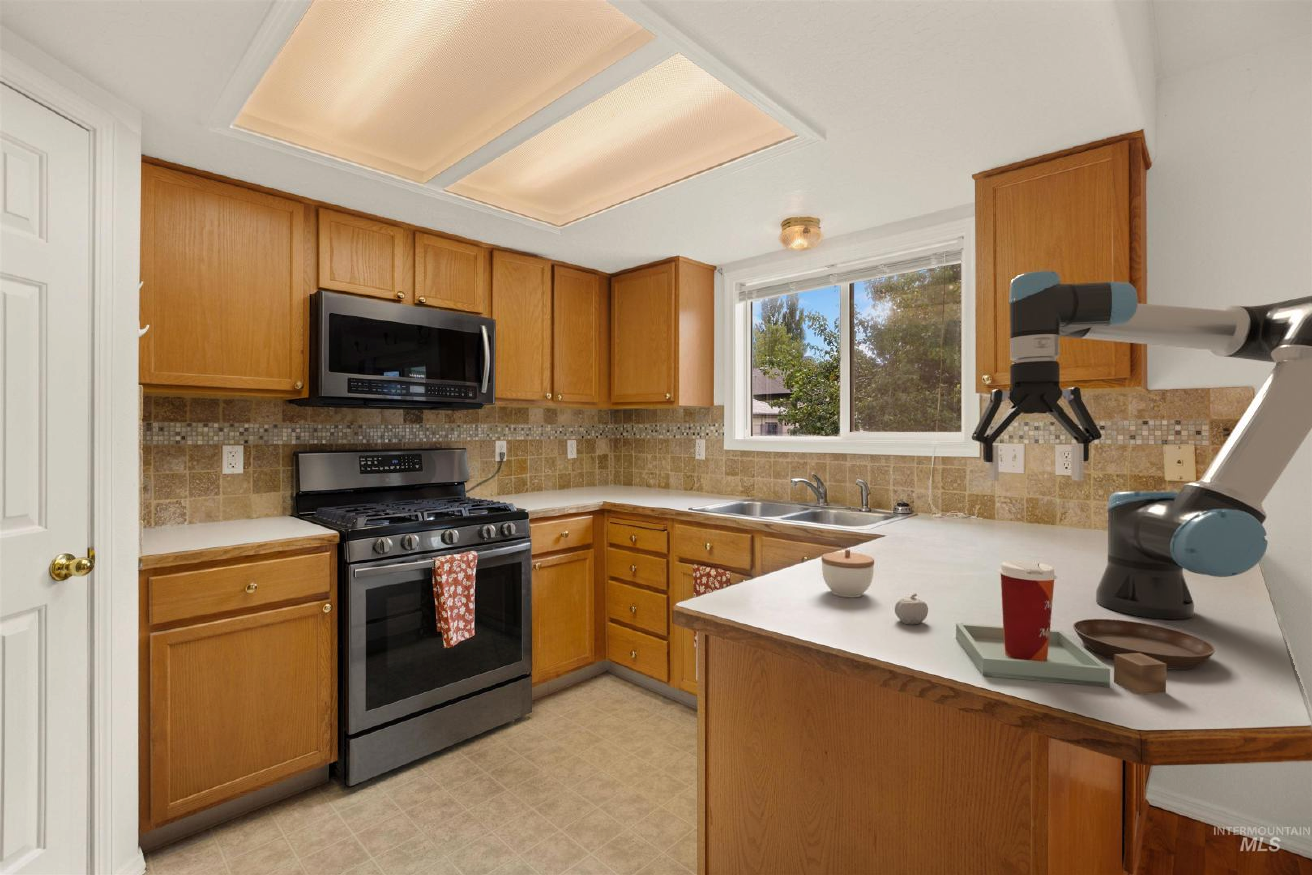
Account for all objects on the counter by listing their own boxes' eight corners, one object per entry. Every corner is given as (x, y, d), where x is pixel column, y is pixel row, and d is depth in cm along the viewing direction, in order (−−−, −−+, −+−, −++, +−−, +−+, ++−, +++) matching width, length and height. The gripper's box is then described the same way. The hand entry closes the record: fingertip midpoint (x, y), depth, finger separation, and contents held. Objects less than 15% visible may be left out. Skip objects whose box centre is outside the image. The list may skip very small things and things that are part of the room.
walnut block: (1138, 680, 88) (1139, 652, 88) (1165, 693, 84) (1166, 663, 84) (1113, 682, 87) (1114, 654, 87) (1139, 694, 83) (1140, 665, 83)
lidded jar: (879, 591, 133) (879, 548, 133) (866, 603, 124) (867, 557, 124) (829, 584, 139) (830, 542, 139) (814, 595, 130) (814, 551, 130)
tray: (1062, 645, 101) (1062, 630, 101) (1109, 686, 85) (1110, 668, 85) (955, 637, 105) (956, 623, 104) (982, 675, 89) (983, 658, 89)
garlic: (914, 616, 116) (914, 589, 116) (935, 625, 111) (935, 596, 111) (887, 619, 114) (887, 591, 114) (907, 628, 109) (908, 599, 109)
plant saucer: (1089, 627, 111) (1090, 610, 111) (1222, 655, 98) (1223, 636, 97) (1058, 651, 99) (1058, 632, 99) (1204, 687, 86) (1204, 665, 86)
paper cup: (1064, 667, 90) (1066, 572, 90) (1007, 663, 92) (1008, 570, 92) (1042, 648, 98) (1044, 560, 98) (989, 644, 100) (991, 558, 99)
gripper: (965, 362, 109) (966, 482, 109) (1125, 356, 104) (1125, 482, 104) (953, 365, 116) (954, 478, 116) (1101, 360, 111) (1102, 478, 112)
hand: (1035, 480), depth 110 cm, fingers open, 13 cm apart
